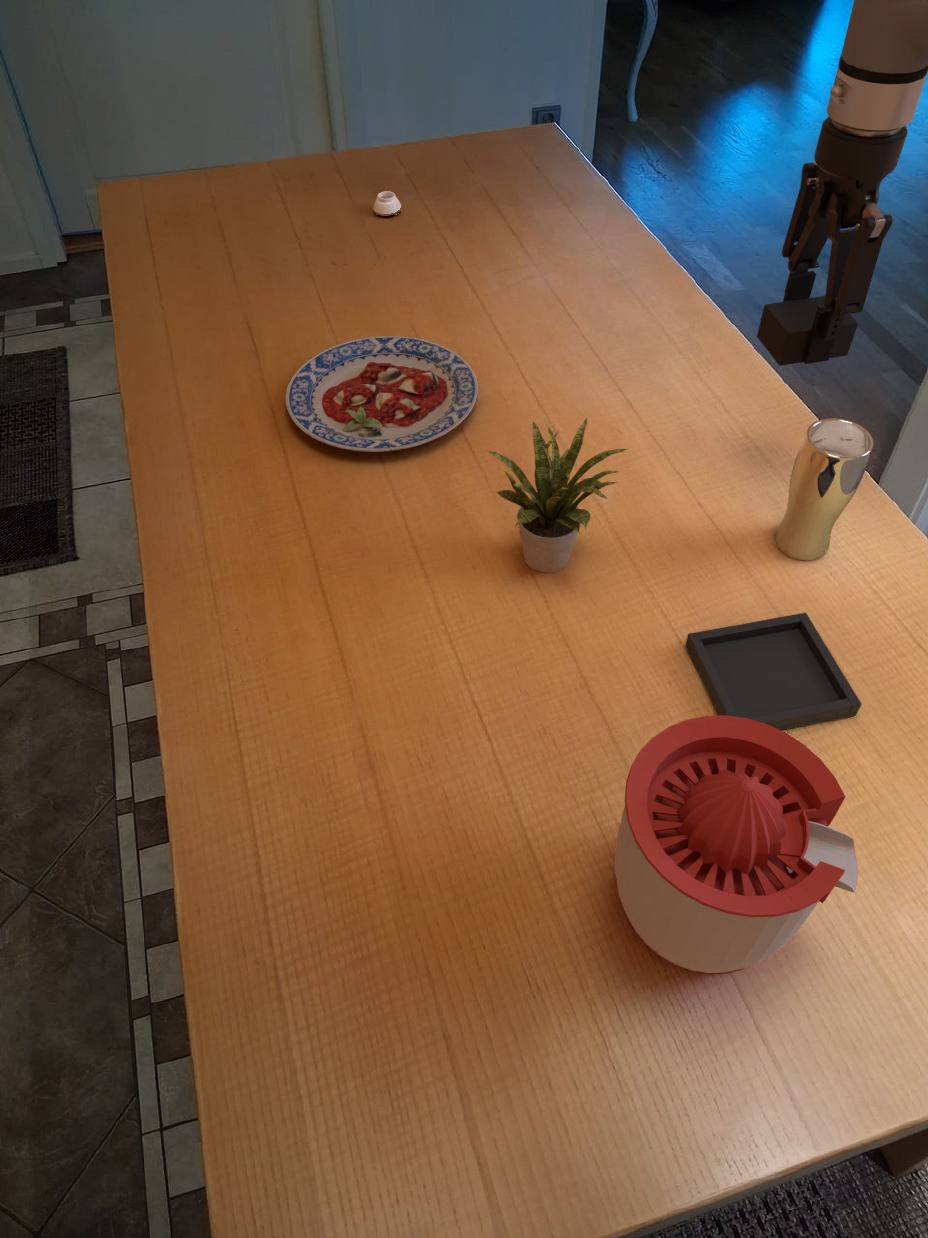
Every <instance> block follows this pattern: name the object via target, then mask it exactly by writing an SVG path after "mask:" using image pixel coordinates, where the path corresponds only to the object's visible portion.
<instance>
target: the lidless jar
mask: <svg viewBox="0 0 928 1238" xmlns="http://www.w3.org/2000/svg"><path fill="white" fill-rule="evenodd" d="M401 206H402V203H401V202H400V201H399V198H398V197H397V196H396V193H394V192H393V191H389V190H385V191H381V192H379V193H378V194H377V196H376V199H375V201H374V204H373V207H372V211H373V210H374V211H375V212H378V213H381V214H391V213H395V212H397V211H398V210H400V208H401Z"/></svg>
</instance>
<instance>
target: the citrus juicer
mask: <svg viewBox="0 0 928 1238" xmlns="http://www.w3.org/2000/svg"><path fill="white" fill-rule="evenodd" d="M630 765H631V766H630V768H629V769H630V770H628V771H629V772H628V775H627V778H626V782H625V790H624V807H623V811H622V815H621V819H620V824H619V828H618V832H617V836H616V844H615V855H614V856H615V857H614V870H615V878H616V886H617V893H618V896H619V899H620V904H621V906H622V909H623V912H624V914H625V915H624V916H625V918H626V920H627V921H628V923H629V925H630V926H631V928H632V929H633V932H634V933H635V934H636V936H637V937H638V938H639V939H640V941H642V943H643V944H644V945H645V947H646V948H648V949H649V950H650V951H651V952H652V953H653V954H655V955H656V956H657V957H658V958H660V959H661V960H663V961H665V962H667V963H668V964H670V965H672V966H673V967H676V968H679V969H682V970H683V971H684V970H685V971H687V972H690V973H697V974H703V975H727V974H730V973H735V972H740V971H742V970H744V969H746V968H750V967H753V966H754V965H756V964H758V963H760V962H762V961H764V960H766V959H768V958H769V957H771V956H772V955H774V954H776V953H777V952H778V951H779V950H781V948H783V947H784V946H785V945H786V944H787V943H789V942H790V941H791V939H792V938H793V937H794V936H795V935H796V934H797V933H798V931H799V930H800V929H801V928H802V926H803V925H804V923H805V922H806V920H807V919H808V917H810V915H811V913H812V912H813V910H814V909H815V908H816V906H817V905H818V903H821V904H824V902H826V900H827V898H828V896H829V895H830V894H831V892H832V891H833V890H834V888H835V887H836V888H839V889H841V890H843V891H847V892H850V893H853V894H855V892H856V889H857V885H858V879H859V878H858V877H859V876H858V875H859V869H858V867H859V866H858V858H857V853H856V847H855V841H854V838H853V836H851V835H849V834H848V833H846V832H844V831H840V830H838V829H836V828H833V827H830V825H831V823H832V822H833V820H834V819H835V817H836V816H837V814H838V812H839V810H840V808H841V806H842V804H843V802H844V800H845V798H846V795H845V792H844V791H843V789H842V787H841V785H840V784H839V782H838V780H837V778H836V776H835V775H834V773H832V771H831V770H830V769H829V768H828V766H827V765H826V764H825V763H824V762H823V760H822V759H821V758H820V757H819V756H818V755H817V754H816V753H814V752H813V751H812V750H811V749H810V748H809V747H808V746H806V744H804V743H803V742H801V741H799V740H798V739H797V738H795V737H794V736H792V735H790V734H789V733H787V732H785V731H784V730H779V729H776V728H774V727H772V726H770V725H768V724H765V723H761V722H758V721H755V720H751V719H748V718H742V717H734V716H727V715H702V716H697V717H693V718H692V717H691V718H688V719H684V720H682V721H679V722H677V723H675V724H672V725H670V726H667V727H666V728H665V729H663V730H662V731H661V732H659V733H657V734H655V735H654V736H653V737H652V738H651V739H650V740H648V741H647V743H646V744H645V745H644V746H643V747H642V748H641V749H640V750H639V751H638V753H637V755H636V757H635V758H634V760H633V762H632V764H630Z"/></svg>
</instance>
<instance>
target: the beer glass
mask: <svg viewBox="0 0 928 1238" xmlns="http://www.w3.org/2000/svg"><path fill="white" fill-rule="evenodd" d="M805 433H806V434H805V436H804V438H803V440H802V442H801V445H800V447H799V448H798V451H797V453H796V456H795V459H794V462H793V465H792V469H791V474H790V479H789V488H788V495H787V496H788V497H787V505H786V510H785V514H784V516H783V518H782V520H781V521H780V523H779V524H778V526H777V528H776V529H775V531H774V534H773V541H774V544H775V546H776V547H777V549H778V550H779V551H780V552H781V553H782V554H784V556H785V555H786V556H787V557H789V558H790V559H794V560H797V561H804V562H805V561H808V562H809V561H815V560H819V559H821V558H822V557H824V556H825V555H826V554H827V552H828V551H829V548H830V544H831V536H832V531H833V528H834V526H835V524H836V523H837V520H838V519H839V518H840V516H841V515H842V513H843V512H844V510H845V509H846V508H847V506H848V505H849V503H850V502H851V501H852V499H853V497H854V496H855V494H856V492H857V491H858V489H859V487H860V484H861V482H862V480H863V478H864V475H865V473H866V469H867V466H868V463H869V460H870V456H871V452H872V450H873V448H874V439H873V436H872V435H871V434H870V433H869V431H868V430H867V429H865V427H863V426H861V425H859V424H858V423H856V422H853V421H851V420H847V419H842V418H835V417H834V418H833V417H829V418H823V419H818V420H816V421H814V422H813V423H811V424H810V425H809V426H808V428H807V430H806V432H805Z"/></svg>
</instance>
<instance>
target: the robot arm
mask: <svg viewBox="0 0 928 1238" xmlns="http://www.w3.org/2000/svg"><path fill="white" fill-rule="evenodd" d="M845 32H846V33H845V36H844V40H843V44H842V48H841V49H842V50H841V54H840V56H839V59H838V64H837V69H836V74H835V76H834V80H833V84H832V87H831V88H830V91H829V95H830V96H829V98H828V99H829V100H828V102H827V107H826V114H827V117H826V118H825V119H824V120H823V122H822V124H821V127H820V132H819V136H818V139H817V142H816V147H815V151H814V155H813V156H814V157H813V158H814V159H813V160H814V161H813V162H812V161H811V162H805V163H804V164H803V165H802V168H801V177H800V186H799V190H798V193H797V197H796V199H795V200H796V201H795V204H794V207H793V210H792V214H791V218H790V221H789V225H788V227H787V231H786V235H785V237H784V242H783V245H782V249H781V255H782V258H784V259H786V258H787V259H788V262H787V270H788V271H789V273H788V277H787V282H786V284H785V289H784V294H783V300H782V302H786V301H793V300H800V299H807V298H811V294H812V291H813V287H814V284H815V281H816V277H817V273H816V272H815V271H814V270H812V269H818V268H820V264H819V261H818V258H819V256H820V254H821V253H822V251H823V249H824V247H825V245H826V243H827V241H828V239H829V240H830V241H831V245H830V255H829V263H828V271H827V279H826V287H825V294H824V296H825V303H824V305H819V306H817V312H816V315H815V318H814V322H813V325H812V329H811V333H810V336H809V339H808V343H807V346H806V349H805V353H804V356H803V359H802V361H803V362H802V363H804V364H805V365H809V364H816V363H821V362H828V361H829V360H830V358H829V357H830V354H831V351H832V348H833V345H834V341H835V339H836V338H837V336H838V335H839V332H840V331H839V330H840V328H841V325H842V322H843V319H844V316H845V314H850V315H851V314H857V313H862V311H863V309H864V307H865V303H866V299H867V296H868V292H869V289H870V286H871V283H872V279H873V275H874V273H875V269H876V265H877V262H878V258H879V255H880V253H881V249H882V245H883V242H884V240H885V238H886V236H887V234H888V232H889V231H890V229H891V227H892V225H893V221H894V219H893V216H892V215H891V214H890V213H887V214H882V213H881V211H880V209H879V207H878V206H877V205H878V203H879V200H880V199H879V197H880V186H881V184H882V181H884V179H885V178H886V177H888V176H889V175H890V174H891V173H892V172H893V171H894V170H895V169H896V168H897V166H898V163H899V161H900V157H901V155H902V151H903V148H904V145H905V142H906V140H907V139H906V138H907V137H908V129H907V126H908V125H909V124H910V123H911V122H912V121H913V120H914V117H915V113H916V111H917V107H918V104H919V100H920V98H921V94H922V91H923V88H924V85H925V82H926V79H927V76H928V0H853V4H852V8H851V12H850V15H849V20H848V24H847V28H846V31H845ZM795 243H796V244H795ZM809 270H810V271H809Z"/></svg>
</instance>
